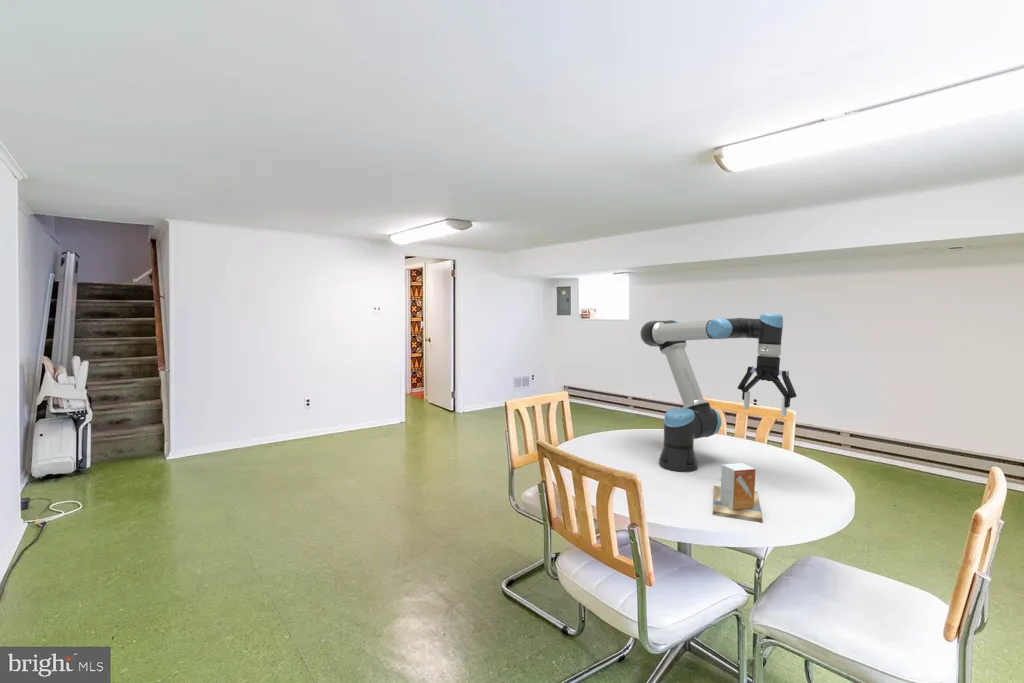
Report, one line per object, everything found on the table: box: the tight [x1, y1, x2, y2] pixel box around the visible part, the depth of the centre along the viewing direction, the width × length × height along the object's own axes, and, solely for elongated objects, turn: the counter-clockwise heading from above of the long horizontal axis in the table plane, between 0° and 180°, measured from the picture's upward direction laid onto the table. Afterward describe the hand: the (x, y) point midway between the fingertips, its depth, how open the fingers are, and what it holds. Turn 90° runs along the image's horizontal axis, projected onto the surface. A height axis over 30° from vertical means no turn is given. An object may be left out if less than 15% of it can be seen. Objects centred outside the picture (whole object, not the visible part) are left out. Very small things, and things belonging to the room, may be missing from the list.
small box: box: [720, 462, 756, 510], centre depth 154 cm, size 8×6×13 cm
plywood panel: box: [712, 485, 764, 523], centre depth 159 cm, size 14×24×1 cm, turn 156°
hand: (764, 412), depth 177 cm, fingers open, 13 cm apart
